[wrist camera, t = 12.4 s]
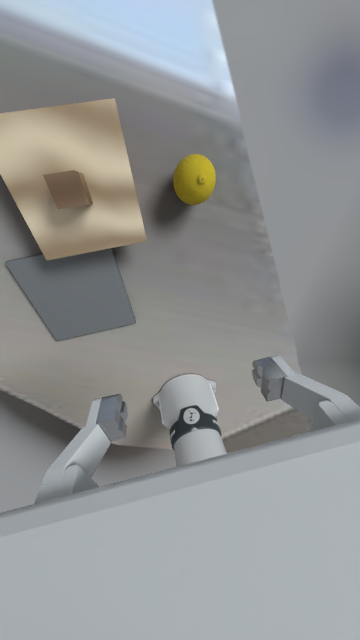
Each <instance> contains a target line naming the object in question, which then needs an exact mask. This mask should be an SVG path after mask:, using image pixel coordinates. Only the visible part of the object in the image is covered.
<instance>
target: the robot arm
mask: <svg viewBox="0 0 360 640" xmlns="http://www.w3.org/2000/svg"><path fill="white" fill-rule="evenodd" d="M253 367H254V369H253V371H252V375H253V379H254V381H255V383H256V385H257V386H258V387H260V388H261V393H262V395H263V396H264V398H265V399H266V401H272V400H276V399H282V400H283V401H285V402H286V403H287V404H289V405H290V406H292V407H293V408H295V409H296V410H298V411H299V412H301V413H302V414H304V415H305V416H307V417H308V418H310V419H311V420H313V422H312V425H311V428H310V432H308V433H304V434H300V435H296V436H293V437H289V438H285V439H281V440H277V441H274V442H270V443H266V444H262V445H258V446H254V447H251V448H247V449H243V450H239V451H235V452H231V453H228V454H227V453H226V450H225V447H224V445H223V442H222V439H221V431H220V426H219V424H218V422H217V419H216V417H217V413H218V410H219V408H218V405H217V402H216V399H215V396H214V395H215V391H216V386H217V385H216V382H214V381H210V380H207V379H205V378H204V377H202V376H199V375H195V374H187V375H181V376H178V377H175V378H173V379H171V380H170V381H168V382H167V383H166V384H165V385H164V386H163V387H162V389H161V391H160V392H159V393H158V394H156V395H155V396H154V397H153V402H154V404H155V405H156V406H157V408H158V409H159V410H160V411H161V418H162V423H163V425H165V427H166V428H167V429H168V430H170V441H171V444H172V448H173V450H174V452H175V459H176V465H177V467H174V468H170V469H167V470H163V471H159V472H155V473H151V474H147V475H144V476H140V477H136V478H132V479H129V480H125V481H121V482H117V483H113V484H109V485H106V486H102V487H99V486H98V485H97V484H96V483H95V482H94V481H93V480H92V479H91V477H92V475H93V474H94V471H95V470H96V468H97V466H98V464H99V463H100V461H101V459H102V458H103V456H104V454H105V452H106V450H107V449H108V447H109V445H110V443H111V441H114V440H118V439H121V438H125V437H126V428H127V425H126V423H125V421H126V419H127V416H128V411H127V406H126V403H125V402H124V401H122V396H121V394H116V395H112V396H107V397H102V398H98V399H94V400H93V402H92V404H91V408H90V412H89V415H88V419H87V422H86V426H85V427H83V428H82V429H81V430H80V431H79V433H78V434H77V435H76V436H75V437H74V439H73V440H72V441H71V442H70V443H69V445H68V446H67V447H66V448H65V450H64V451H63V452H62V453H61V455H60V456H59V457H58V458H57V459H56V460H55V462H54V463H53V464H52V465H51V466H50V468H49V469H48V470H47V471H46V474H45V477H44V479H43V482H42V485H41V487H40V490H39V493H38V495H37V498H36V501H35V503H34V504H33V505H29V506H26V507H22V508H18V509H14V510H10V511H7V512H2V513H0V640H360V408H359V407H358V406H357V405H356V404H355V403H354V402H353V401H352V400H351V399H350V398H349V397H348V396H347V395H345V394H343V393H341V392H339V391H336V390H334V389H331V388H330V387H327V386H325V385H323V384H321V383H318V382H316V381H313V380H311V379H309V378H307V377H304V376H302V375H300V374H295V372H294V371H293V370H292V369H291V368H290V367H289V366H288V365H287V364H286V362H285V361H284V360H283V359H282V358H281V357H280V356H279V355H275V356H271V357H267V358H263V359H259V360H255V361H253Z"/></svg>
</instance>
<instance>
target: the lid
mask: <svg viewBox="0 0 360 640" xmlns="http://www.w3.org/2000/svg"><path fill="white" fill-rule="evenodd" d="M0 174H1V176H2V178H3V180H4V182H5V184H6V186H7V187H8V189H9V191H10V193H11V195H12V197H13V199H14V200H15V202H16V204H17V206H18V208H19V210H20V212H21V214H22V215H23V217H24V219H25V221H26V223H27V225H28V227H29V229H30V230H31V232H32V234H33V236H34V238H35V240H36V242H37V244H38V245H39V247H40V249H41V251H42V253H43V255H44V257H45V259H46V260H52V259H57V258H62V257H68V256H73V255H78V254H83V253H88V252H93V251H99V250H104V249H109V248H114V247H119V246H124V245H130V244H135V243H140V242H145V241H147V239H146V234H145V230H144V226H143V221H142V217H141V212H140V208H139V204H138V199H137V195H136V190H135V186H134V182H133V177H132V173H131V168H130V164H129V160H128V155H127V151H126V146H125V142H124V138H123V133H122V129H121V124H120V120H119V115H118V111H117V107H116V102H115V98H113V99H105V100H98V101H90V102H83V103H75V104H68V105H60V106H53V107H45V108H38V109H30V110H23V111H15V112H8V113H0Z"/></svg>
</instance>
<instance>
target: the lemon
mask: <svg viewBox="0 0 360 640" xmlns="http://www.w3.org/2000/svg"><path fill="white" fill-rule="evenodd" d="M215 182H216V175H215V170H214V167H213V165H212V163H211V162H210V160H208V159H207V158H206V157H205V156H202V155H199V154H192V155H189V156H187V157H185V158H184V159H182V160H181V161H180V163H179V164H178V165H177V167H176V169H175V173H174V177H173V184H174V189H175V192H176V194H177V196H178V197H179V198H180V199H181V200H182V201H183V202H185V203H187V204H190V205H196V204H200V203H202V202H204V201H205V200H206V199H208V198H209V196H210V195H211V194H212V192H213V189H214V187H215Z"/></svg>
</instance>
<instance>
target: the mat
mask: <svg viewBox="0 0 360 640" xmlns="http://www.w3.org/2000/svg"><path fill="white" fill-rule="evenodd" d="M5 264H6V265H7V267H8V268H9V270H10V271H11V273H12V274H13V276H14V277H15V279H16V280H17V282H18V283H19V285H20V287H21V288H22V290H23V291H24V293H25V294H26V296H27V297H28V299H29V300H30V302H31V303H32V305H33V306H34V308H35V309H36V311H37V312H38V314H39V315H40V317H41V318H42V320H43V321H44V323H45V324H46V326H47V327H48V329H49V330H50V332H51V333H52V335H53V336H54V338H55V339H56V341H59V340H64V339H68V338H72V337H77V336H81V335H86V334H90V333H95V332H99V331H103V330H108V329H112V328H117V327H121V326H126V325H130V324H134V323H136V320H135V317H134V314H133V311H132V308H131V305H130V302H129V299H128V296H127V293H126V290H125V287H124V284H123V281H122V278H121V275H120V272H119V269H118V266H117V263H116V260H115V257H114V254H113V251H112V248H109V249H104V250H99V251H93V252H88V253H83V254H78V255H73V256H68V257H62V258H57V259H52V260H46V259H45V257H44V255H43V254H40V255H35V256H30V257H25V258H19V259H14V260H9V261H6V262H5Z"/></svg>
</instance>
